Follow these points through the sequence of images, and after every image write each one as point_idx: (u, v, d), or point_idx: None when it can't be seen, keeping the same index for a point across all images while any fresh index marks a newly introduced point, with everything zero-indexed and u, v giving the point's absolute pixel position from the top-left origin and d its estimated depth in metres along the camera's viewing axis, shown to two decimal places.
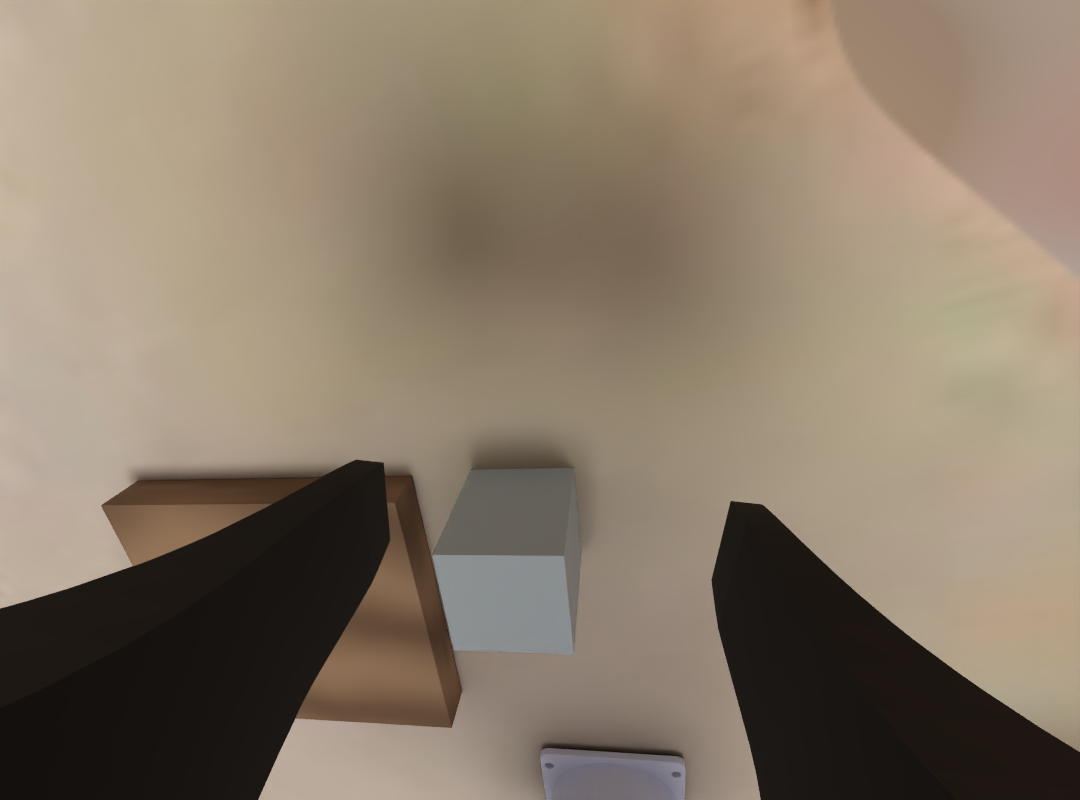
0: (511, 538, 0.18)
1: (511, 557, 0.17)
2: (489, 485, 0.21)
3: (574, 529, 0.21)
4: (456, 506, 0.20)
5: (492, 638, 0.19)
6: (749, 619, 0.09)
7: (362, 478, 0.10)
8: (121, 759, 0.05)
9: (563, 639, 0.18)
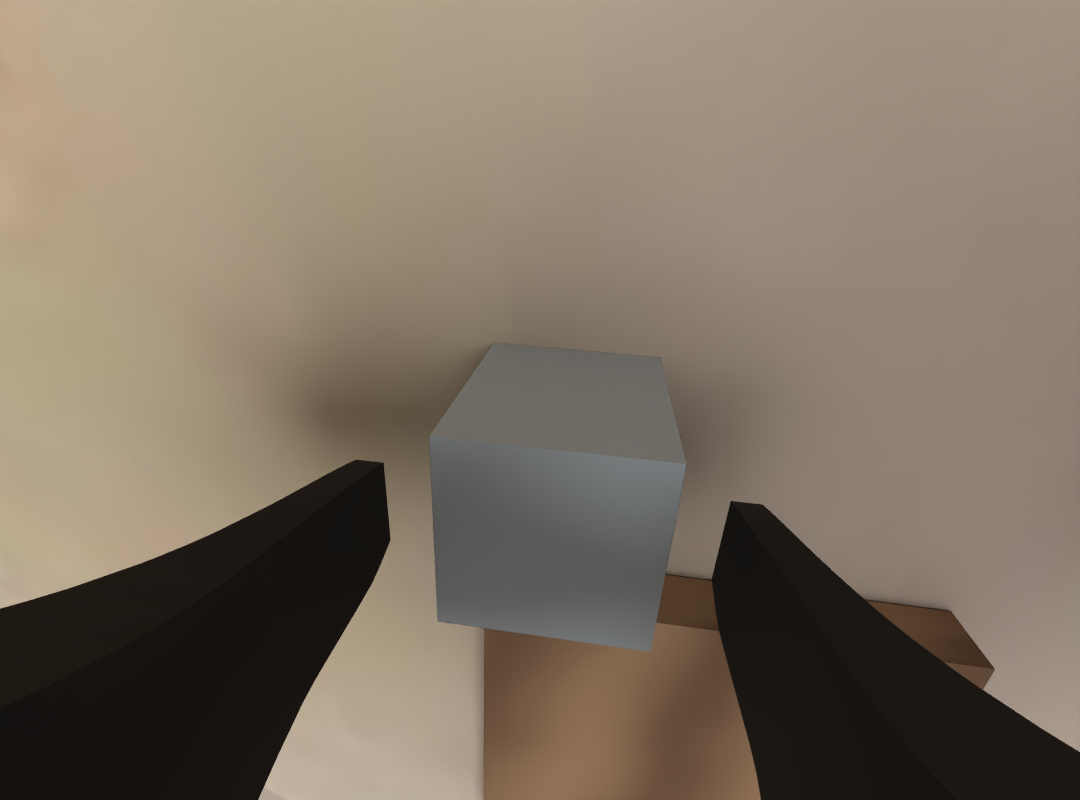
0: None
1: (436, 517, 0.10)
2: None
3: (547, 373, 0.12)
4: None
5: (626, 590, 0.10)
6: (749, 619, 0.09)
7: (362, 478, 0.10)
8: (121, 759, 0.05)
9: (639, 473, 0.09)
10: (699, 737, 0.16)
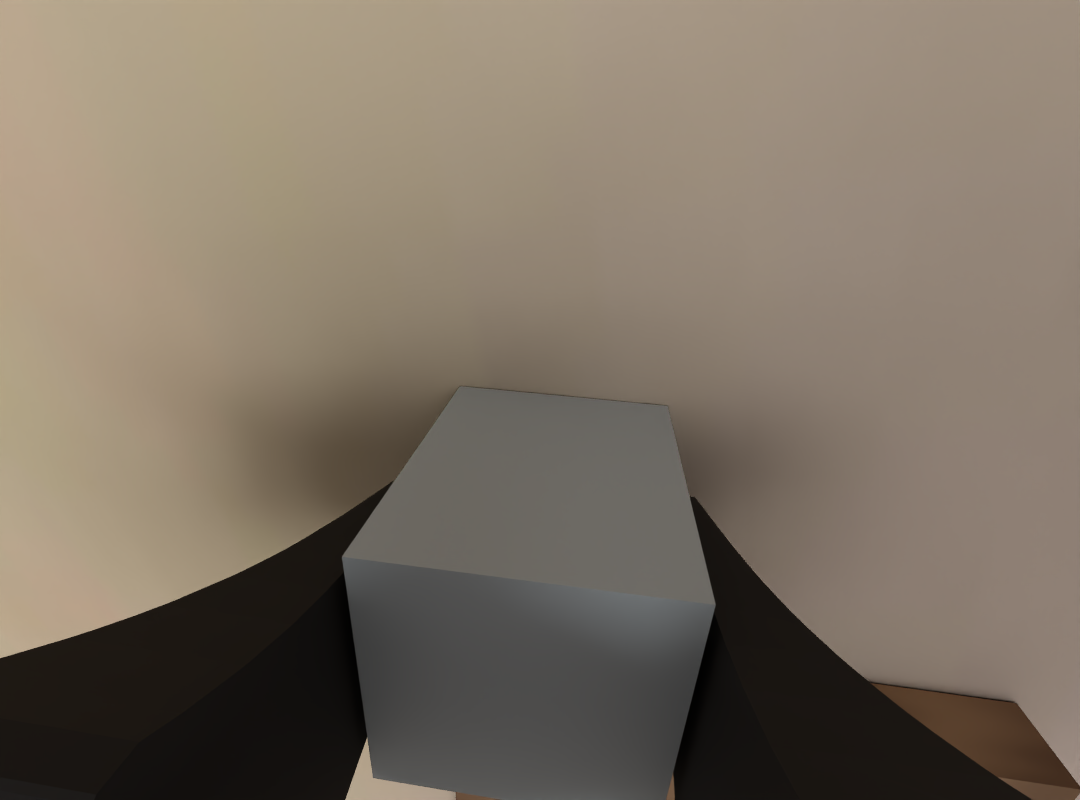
0: None
1: (360, 658, 0.07)
2: None
3: (522, 435, 0.09)
4: None
5: (626, 754, 0.07)
6: None
7: None
8: (240, 780, 0.05)
9: (646, 615, 0.06)
10: None
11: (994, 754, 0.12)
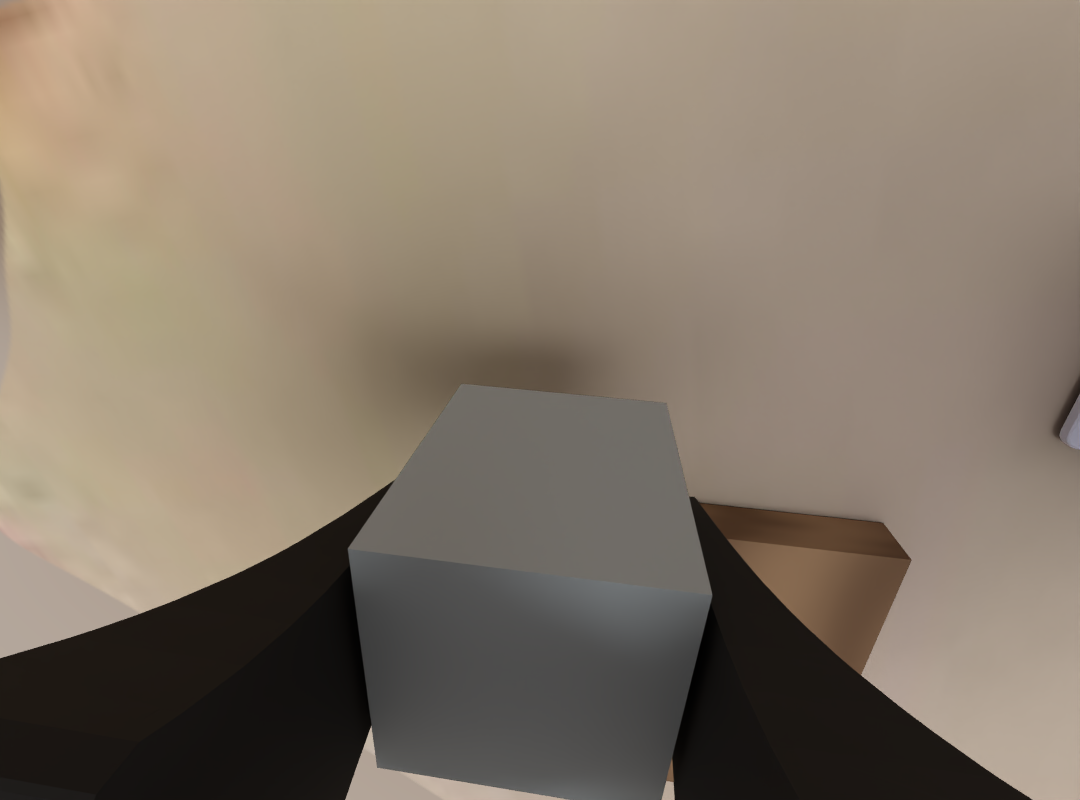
0: None
1: (366, 648, 0.07)
2: None
3: (523, 432, 0.10)
4: None
5: (625, 743, 0.07)
6: None
7: None
8: (240, 780, 0.05)
9: (644, 605, 0.06)
10: None
11: (859, 544, 0.18)
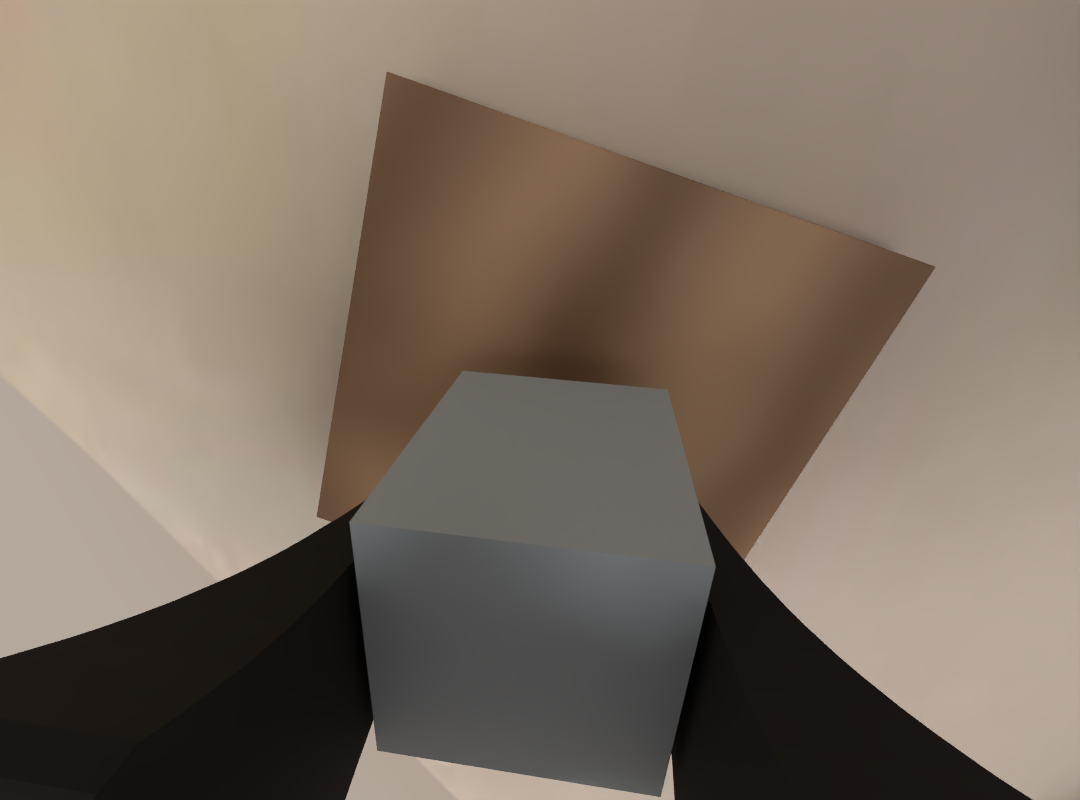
0: None
1: (366, 626, 0.07)
2: None
3: (525, 415, 0.10)
4: None
5: (628, 722, 0.07)
6: None
7: None
8: (240, 780, 0.05)
9: (647, 578, 0.06)
10: (596, 343, 0.14)
11: None
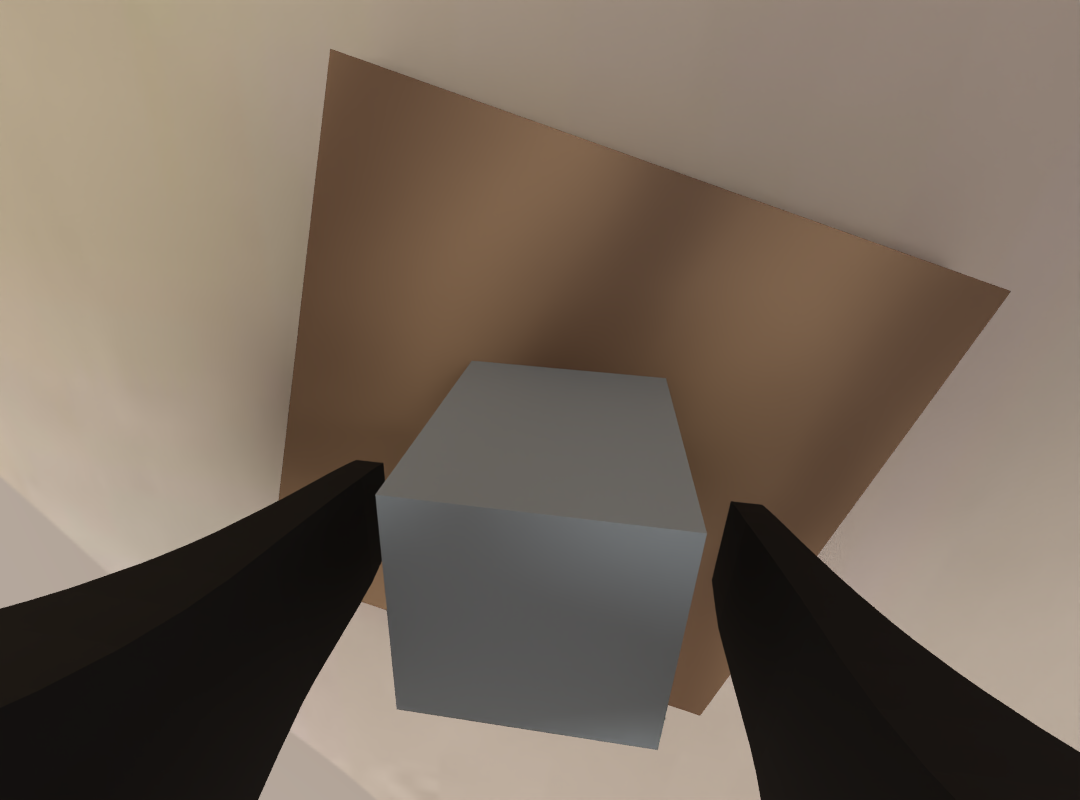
0: None
1: (389, 591, 0.08)
2: None
3: (532, 401, 0.10)
4: None
5: (628, 679, 0.08)
6: (749, 620, 0.09)
7: (362, 478, 0.10)
8: (121, 759, 0.05)
9: (645, 544, 0.07)
10: None
11: None
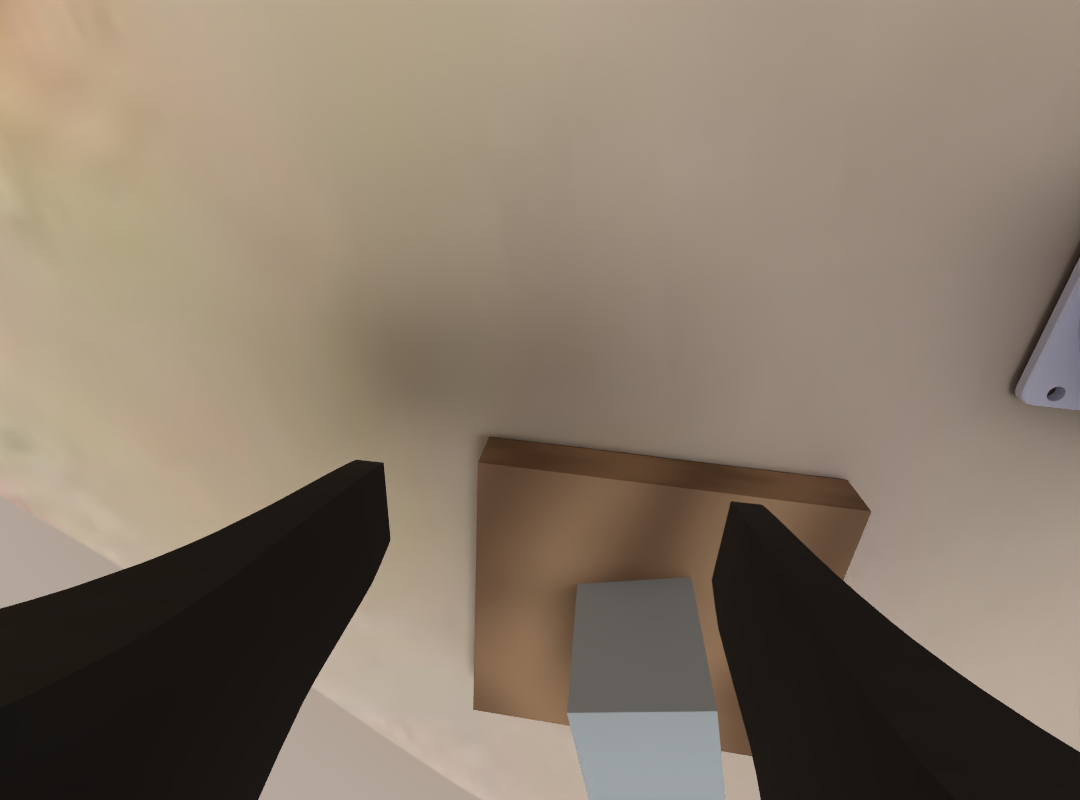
0: None
1: (578, 749, 0.17)
2: None
3: (620, 620, 0.19)
4: None
5: (700, 774, 0.16)
6: (749, 619, 0.09)
7: (362, 478, 0.10)
8: (121, 759, 0.05)
9: (691, 718, 0.15)
10: None
11: (822, 497, 0.19)
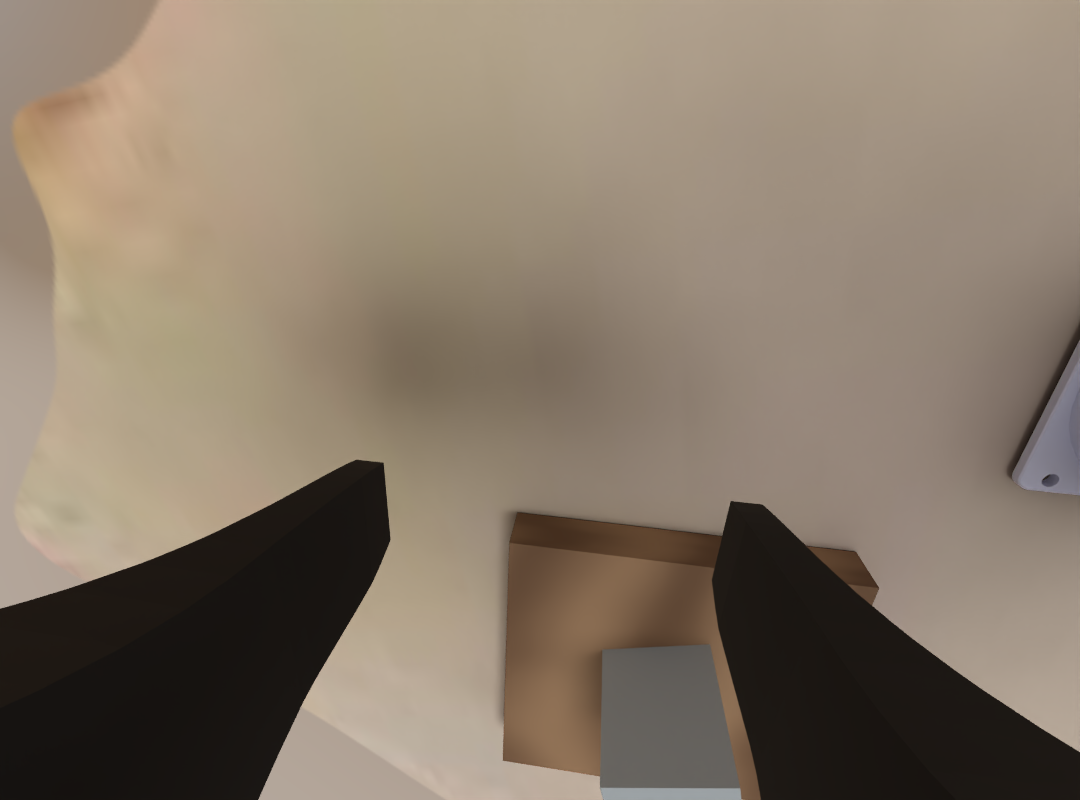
0: None
1: None
2: None
3: (644, 690, 0.20)
4: None
5: None
6: (749, 619, 0.09)
7: (362, 478, 0.10)
8: (121, 759, 0.05)
9: (716, 794, 0.17)
10: None
11: None
